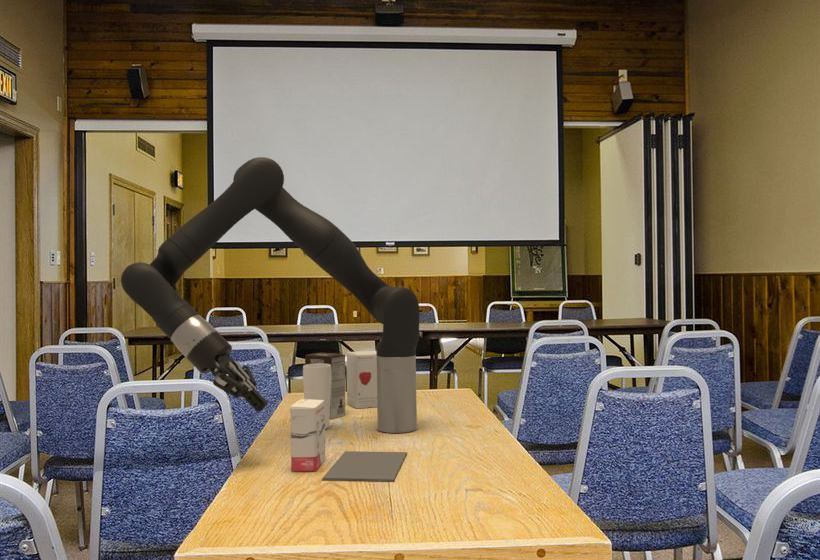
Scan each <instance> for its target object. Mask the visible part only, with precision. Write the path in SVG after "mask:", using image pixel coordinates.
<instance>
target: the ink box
mask: <svg viewBox="0 0 820 560" xmlns="http://www.w3.org/2000/svg"><path fill="white" fill-rule="evenodd" d="M289 411H290V412H289V413H290V417H289V419H290V420H289V421H290V423H289V424H290V459H291V460H290V463H291V464H290V465H291V466H290V469H291V470H290V471H291V472H317V470H318V469H319V468H320V467H321V466H322V464H323V463H324V462H325V461H326V429H325V401H324V400H312V399H305V398H303V399H302V398H301V399H299V400H298V401H295V402H294V403H293V404H292V405H290V408H289Z"/></svg>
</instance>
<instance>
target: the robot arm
mask: <svg viewBox="0 0 820 560" xmlns="http://www.w3.org/2000/svg"><path fill="white" fill-rule="evenodd" d="M284 182H285V175H284V172H283V168H282V167H281V166H280V164H279V163H278V162H277V161H275V160H273V159H272V158H269V157H264V156H262V157H261V156H258V157H254V158H251V159H249V160H247V161H246V162H244V163H243V164H242V165H240V167H238V168H237V169H236V170H235V172H234V175H233V180H232V182H231V184H230V185H229V186H228V187H227V188H226V189H225V190H224V191H223V192H222V193H221V194H220V195H219V196H218V197H217V198H216V199H214V200H213V201H212V202H211V203H210V204H209V205H208V206H206V207H204V209H202V210H200V211H199V212H198V213H196V215H194V216H193V217H191V218H190V219H188V221H186V222H185V223H184V224H183V225H181V226H180V227H179V228H178V229H177V230H175V232H174V233H172V234H171V235H170V236H169V237H168V238H167V239H165V240H164V242H162V243H161V245H160V246H159V247H158V250H157V255H156V257H155V258H154V259H153V260H152V261H151V262H150V263H145V262H134V263H132V264H129V265H128V266H126V267H125V269H124V270H123V271H122V273H121V275H120V276H121V277H120V284H121V288H122V289H123V291H124V293H125V294H126V295H127V296H128V297H129V299H130V300H132V301H133V302H134V304H137V305H138V306H139V307H140V308H141V309H143V311H145V312H146V313H147V314H148V315H149V316H150V318H152V319H151V320H152V321H154V323H155V324H156V325H157V327H158V328H159V329H160V330H161V331H162V332H163V333H164V334H165V335H166V337H167V338H168V339H170V341H171V342H172V344H174V346H175V347H176V348H177V350H178V351H179V352H180V354H182V355H183V356H184V357H185V358H186V359H187V361H189V362H190V363H191V364H192V366H194V368H195V369H197V370H198V371H199V373H200V374H202V375H205V374H208V373H211V375H212V376H213V377H214V378H215V379H214V381H212V384H213V386H215V387H216V388H218V389H220V390H222V391H224V392H225V393H227V394H228V395H230V396H232V397H234V398H236V399H239V398H240V399H242V400H245V401H246V402H247V403H248V404H249V405H250V406H251V407H252V408H253V409H254V411H256V412H257V413H260V412H262V411H264V409H265V408H266V407H267V406H268V401H267V400H266V399H265V398H264V397H263V396H262V395H261V394H260V393H259V392H258V391H257V390H256V389H257V387H256V386H257V385H258V384H257V381H256V380H255V377H254V375H253V373H252V371H251V369H250V367H249V366H248V365H244V366H243V367H242V366H241V364H240V363H239V362H238V361H237V360H235V359H234V358H232V357H231V356H230V354H231V352H232V350H233V347H232V345H231V344H230V343H229V342H228V340H227V339H226V338H224V337H223V336H222V334H221V333H220V332H219V331H217V329H216V328H215V327H214V326H213V325H212V324H211V323H210V322H208V320H206V319H205V318H204V317H202V316H201V315H200V314H199V313H198V312H197V311H196V310H195V309H194V308H193V307H192V305H190V304H189V303H188V301H186V300H185V299H184V298H183V297H181V296H180V295H179V294H178V293H177V292H176V290H175V289H174V287H175V286H176V284H177V283H178V282H179V281H180V280H181V278H182V277H183V275H184V274H185V273H186V271H187V270H188V269H189V268H191V267H192V266H193V265H195V263H196V262H198V261H199V260H200V259H201V258H202V257H203V256H205V254H206V253H207V252H208V251H209V250H210V249H211V248H212V247H213V246H215V244H217V242H219V240H220V239H221V238H223V237H224V235H226V234H227V232H229V230H231V229H232V228H233V227H234V226H235V225H236V224H237V223H238V222H240V221H241V220H242V219H244V218H245V217H246V216H247V215H248V214H250V213H251V212H252V211H254V210H256V212H259V213H260V214H261V215H262V216H264V217H265V218H266V219H268V220H269V221H270V222H272V223H273V224H274V225H276V227H278V228H279V229H280V230H281V231H282V232H283V233H284V235H285V236H287V238H289V239H290V240H291V241H292V242H293V243H294V244H295V245H296V247H298V248H299V249H300V250H301V251H302V252H303V253H304V254H305V255H306V256H307V257H308V258H309V259H310V260H311V261H313V262H314V263H315V265H318V267H320V268H321V269H322V271H324V272H325V273H327V274H328V275H329V276H330V277H331V278H332V279H334V280H335V281H336V282H337V283H338V284H340V285H341V286H342V287H344V288H345V289H346V290H347V291H348V292H350V293H351V294H352V295H353V296H354V297H355V298H356V300H357V301H358V302H359V303H360V304H361V305H362V306H363V307H364V308H365V310H367V312H368V313H369V314H370V315H371V316H372V317H373V318H374V319H375V321H377V322H379V323H380V324H381V325H382V326H383V327H382V336H381V340H380V341H379V342H378V343H377V344H376V350H375V351H376V355H377V356H376V357H377V407H376V409H377V411H376V413H377V416H376V417H377V418H376V420H377V421H376V423H377V431H379V432H383V433H389V434H400V433H401V434H402V433H409V432H413V431H416V430H417V429H418V424H417V423H418V421H417V420H418V419H417V417H418V415H417V411H418V410H417V407H418V406H417V364H416V363H417V359H416V357H417V355H416V354H417V351H416V349H417V346H418V343H419V340H420V304H419V300H418V297H417V295H416V294H415V292H413V290H411V289H410V288H407V287H404V286H391V285H390V284H388V283H386V282H385V281H384V280H383V279H382V278H381V277H379V276H378V275H377V274H375V273H374V272H373V270H372V269H371V268H370V267H369V266H368V264H367V263H366V261H365V259H364V258H363V256H362V254H361V253H360V251H359V249H358V247H357V246H356V244H355V243H354V241H352V239H350V238H349V237H348V236H347V235H346V234H345V233H344V232H343V231H342V230H341V229H340V228H339V227H338V226H336V225H335V224H334V223H333V222H332V221H330V220H329V219H327V218H326V217H324V216H322V215H320V214H319V213H318V212H315V211H314V210H312V209H310V208H309V207H306V206H305V205H303V204H302V203H300V202H299V201H298V200H297V199H295V197H293V196H292V195H291V194H290V193H289V192H288V191H287V190H286V189H285V188H284V187H283V186H284V184H285V183H284Z"/></svg>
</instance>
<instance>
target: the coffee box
mask: <svg viewBox="0 0 820 560" xmlns="http://www.w3.org/2000/svg"><path fill="white" fill-rule="evenodd" d="M307 364H330V365H331V372H332V385H331V399H330V414H329V420H333V419H334V420H335V419H337V418H340V417H343V416H346V354H343V353H342V354H341V353H330V352H316V353H315V352H314V353H310V354H309V353H308V354H305V355H304V365H307Z"/></svg>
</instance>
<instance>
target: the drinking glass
mask: <svg viewBox="0 0 820 560" xmlns="http://www.w3.org/2000/svg"><path fill="white" fill-rule="evenodd" d="M331 385H332V372H331V365H330V364H307V365H305V364H304V365H303V366H302V386H303V395H304V398H303V399H312V400H324V401H325V430H327V429H329V427H330V419H329V414H330V399H331Z"/></svg>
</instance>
